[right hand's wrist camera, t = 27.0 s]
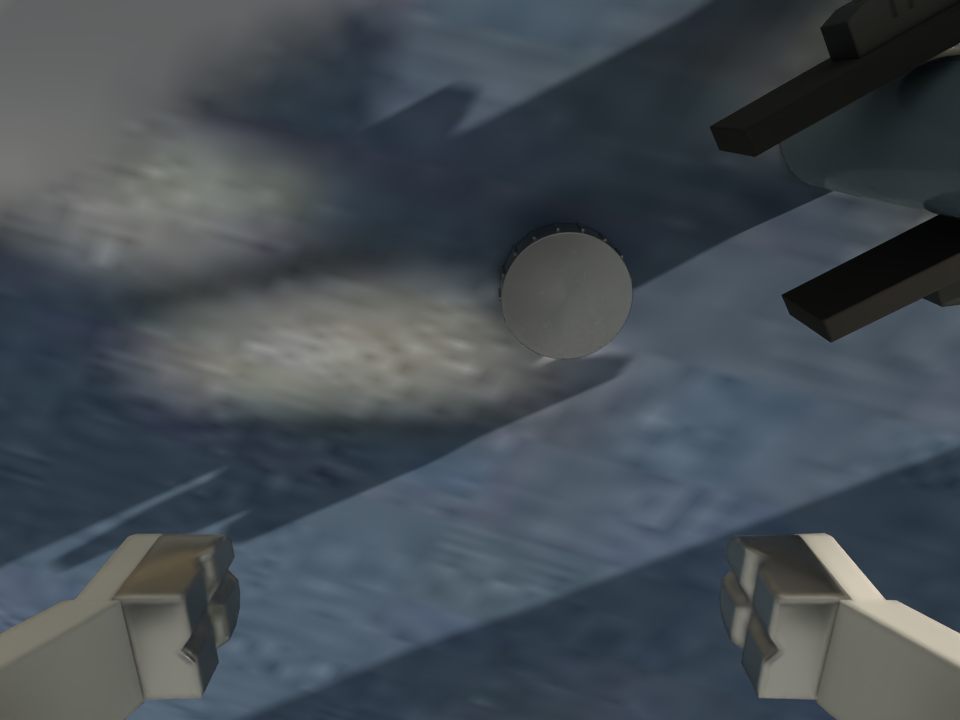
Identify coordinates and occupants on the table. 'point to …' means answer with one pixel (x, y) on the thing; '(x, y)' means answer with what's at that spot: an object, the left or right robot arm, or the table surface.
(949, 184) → the blue gray cylinder
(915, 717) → the right robot arm
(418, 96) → the table surface
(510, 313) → the lid
